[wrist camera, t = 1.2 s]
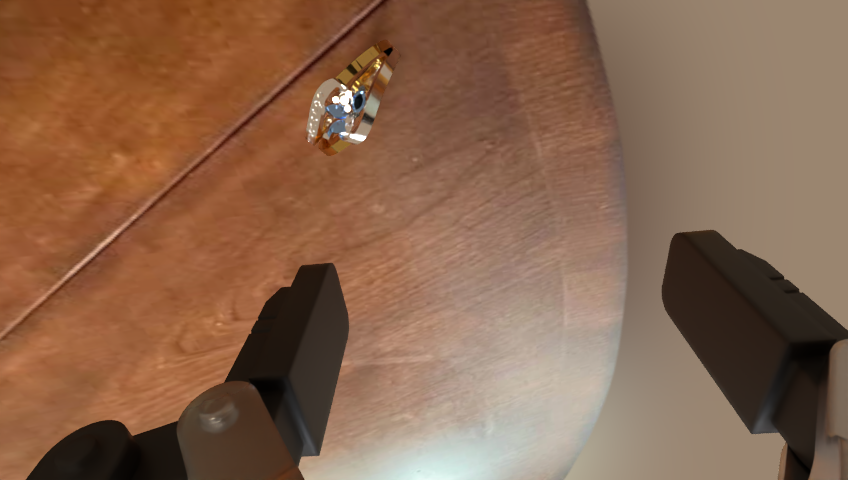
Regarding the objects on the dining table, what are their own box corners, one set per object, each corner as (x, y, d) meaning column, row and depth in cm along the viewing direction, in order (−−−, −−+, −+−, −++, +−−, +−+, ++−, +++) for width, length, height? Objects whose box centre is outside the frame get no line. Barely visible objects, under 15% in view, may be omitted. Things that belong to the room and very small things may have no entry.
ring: (382, 21, 26) (363, 36, 19) (420, 62, 27) (415, 91, 20) (308, 103, 29) (268, 142, 22) (346, 138, 30) (319, 186, 23)
